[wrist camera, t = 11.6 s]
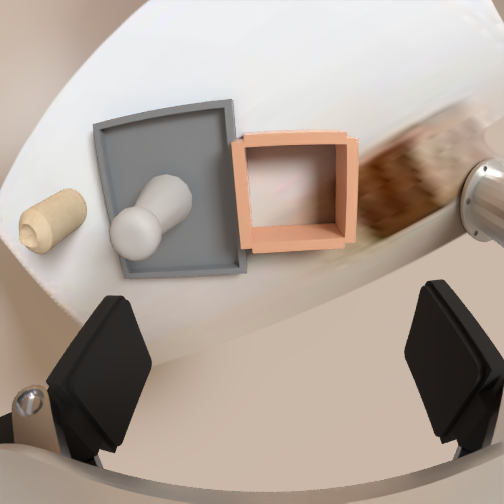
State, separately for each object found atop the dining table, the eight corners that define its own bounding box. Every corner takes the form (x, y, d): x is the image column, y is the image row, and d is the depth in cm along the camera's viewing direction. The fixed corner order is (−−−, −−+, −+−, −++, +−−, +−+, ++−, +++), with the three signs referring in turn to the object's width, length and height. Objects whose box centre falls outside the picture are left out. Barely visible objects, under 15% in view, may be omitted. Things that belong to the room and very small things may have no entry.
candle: (63, 229, 36) (22, 262, 27) (51, 193, 34) (5, 219, 25) (92, 222, 36) (51, 256, 27) (80, 183, 33) (34, 208, 24)
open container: (345, 130, 30) (358, 132, 26) (344, 231, 36) (354, 247, 32) (233, 133, 31) (230, 136, 27) (243, 237, 36) (241, 254, 32)
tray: (233, 100, 29) (231, 99, 27) (247, 265, 38) (246, 273, 36) (100, 123, 30) (92, 124, 28) (130, 271, 39) (125, 278, 37)
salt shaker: (182, 227, 35) (148, 286, 23) (141, 205, 34) (89, 253, 22) (205, 184, 33) (176, 227, 21) (160, 161, 31) (109, 191, 20)
